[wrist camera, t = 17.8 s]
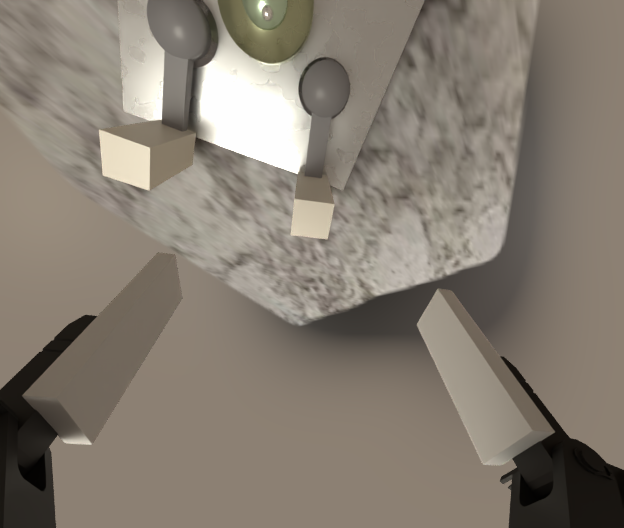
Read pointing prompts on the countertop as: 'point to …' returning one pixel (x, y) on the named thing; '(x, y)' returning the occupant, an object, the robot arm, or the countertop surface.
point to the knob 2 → (318, 149)
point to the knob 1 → (175, 108)
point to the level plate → (274, 73)
